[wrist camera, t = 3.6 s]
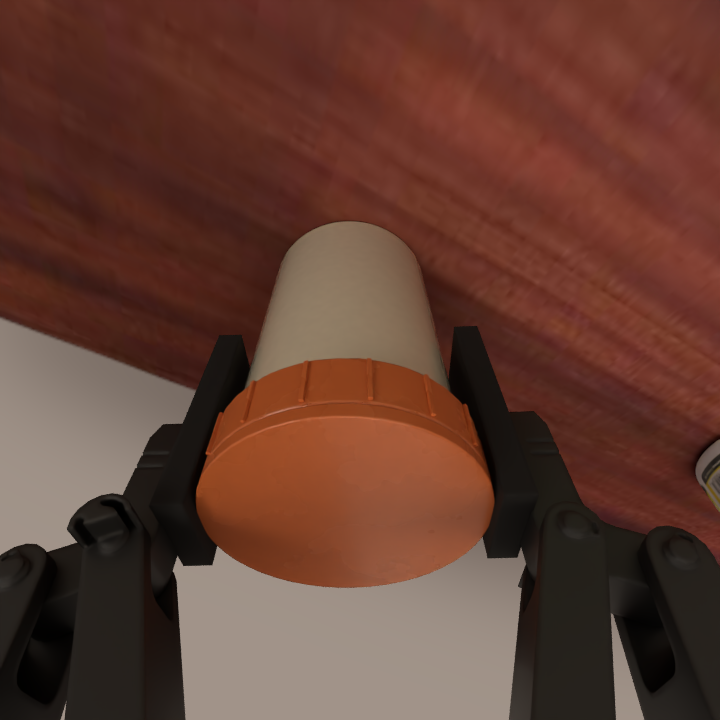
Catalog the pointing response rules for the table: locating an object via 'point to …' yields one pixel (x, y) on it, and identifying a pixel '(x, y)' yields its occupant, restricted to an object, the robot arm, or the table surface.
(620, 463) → the table surface
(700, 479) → the pill bottle
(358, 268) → the jar
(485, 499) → the lid
